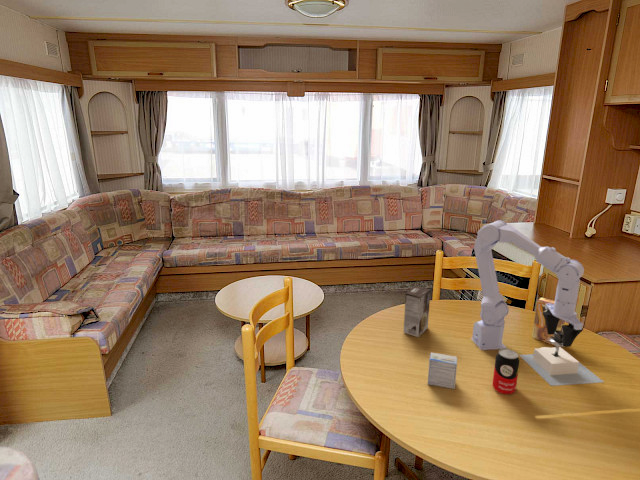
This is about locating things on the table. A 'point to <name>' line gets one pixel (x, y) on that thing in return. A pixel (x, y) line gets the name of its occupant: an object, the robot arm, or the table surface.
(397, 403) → the table surface
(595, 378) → the board
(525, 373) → the table surface
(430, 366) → the medicine box
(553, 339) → the plunger
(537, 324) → the candy box
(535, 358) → the box
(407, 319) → the coffee box
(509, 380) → the beverage can
